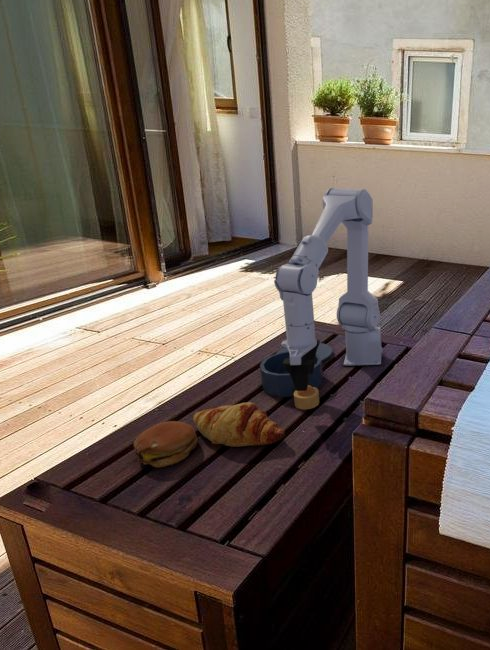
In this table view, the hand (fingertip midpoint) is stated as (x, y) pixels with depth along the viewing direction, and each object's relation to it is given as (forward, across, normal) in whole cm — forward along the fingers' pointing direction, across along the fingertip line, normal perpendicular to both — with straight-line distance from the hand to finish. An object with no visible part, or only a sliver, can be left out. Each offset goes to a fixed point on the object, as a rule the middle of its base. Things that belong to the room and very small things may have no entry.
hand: (305, 381), depth 101 cm
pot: (+5, -10, -5) cm, 12 cm away
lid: (+5, -25, -5) cm, 26 cm away
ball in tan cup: (+5, 0, 0) cm, 5 cm away
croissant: (+6, +11, -11) cm, 16 cm away
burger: (+6, +16, -22) cm, 28 cm away
